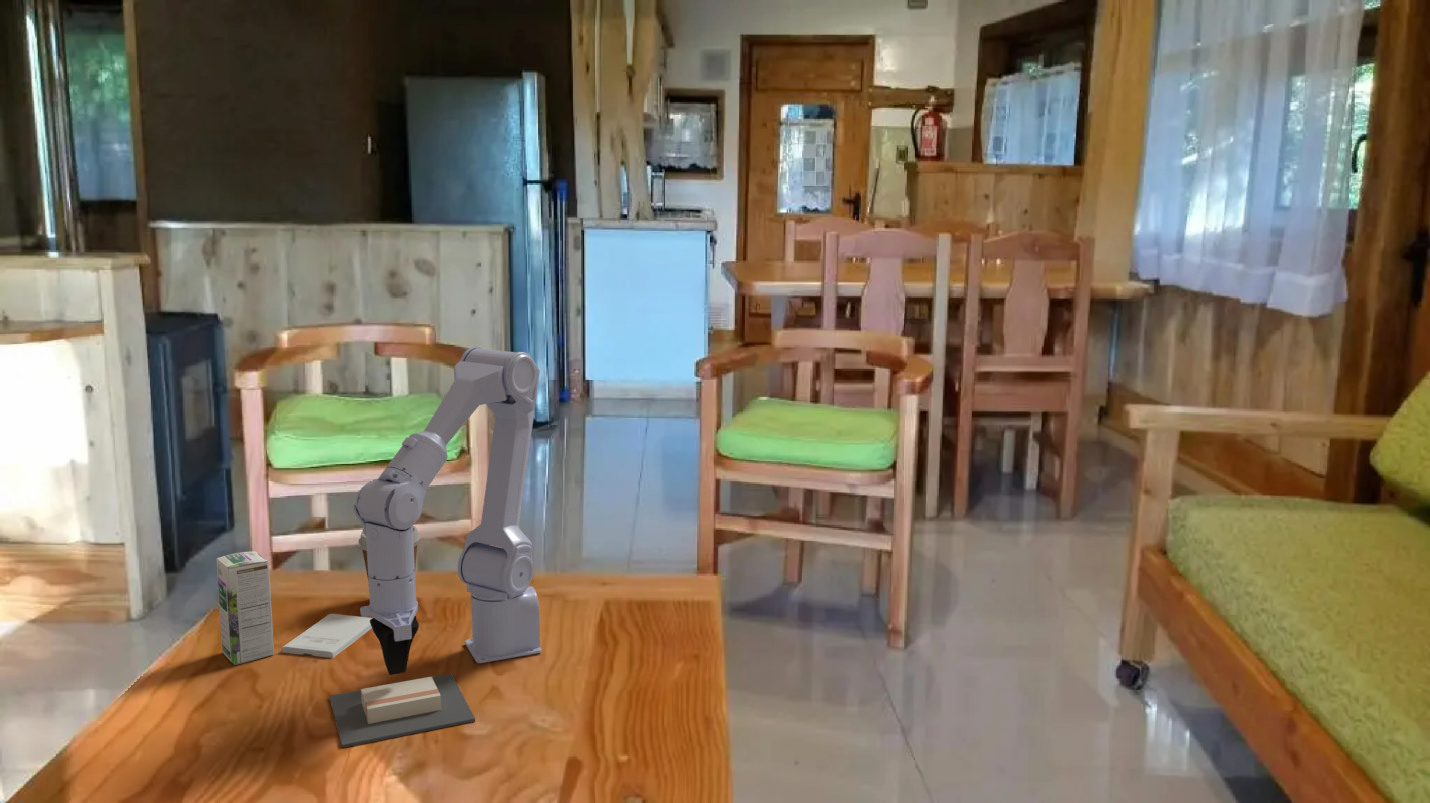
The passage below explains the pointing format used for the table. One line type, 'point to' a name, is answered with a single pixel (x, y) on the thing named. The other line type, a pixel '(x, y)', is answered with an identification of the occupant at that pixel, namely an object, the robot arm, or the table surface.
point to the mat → (359, 731)
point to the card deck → (400, 699)
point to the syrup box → (245, 607)
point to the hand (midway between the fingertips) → (396, 671)
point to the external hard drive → (329, 636)
